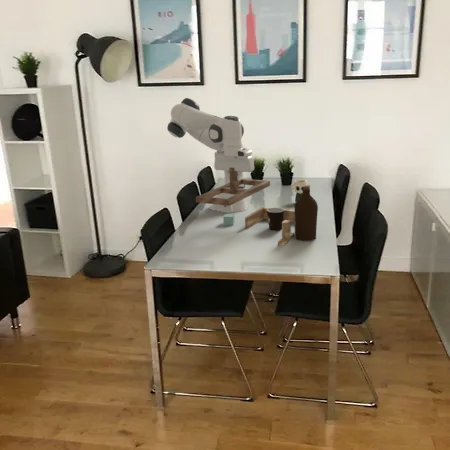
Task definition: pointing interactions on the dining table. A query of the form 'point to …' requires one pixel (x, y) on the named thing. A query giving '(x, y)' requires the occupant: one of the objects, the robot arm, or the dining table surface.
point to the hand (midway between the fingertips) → (234, 180)
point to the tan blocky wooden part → (286, 233)
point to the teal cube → (229, 219)
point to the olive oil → (306, 216)
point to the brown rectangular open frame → (232, 190)
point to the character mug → (299, 187)
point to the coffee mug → (275, 218)
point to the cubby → (266, 217)
